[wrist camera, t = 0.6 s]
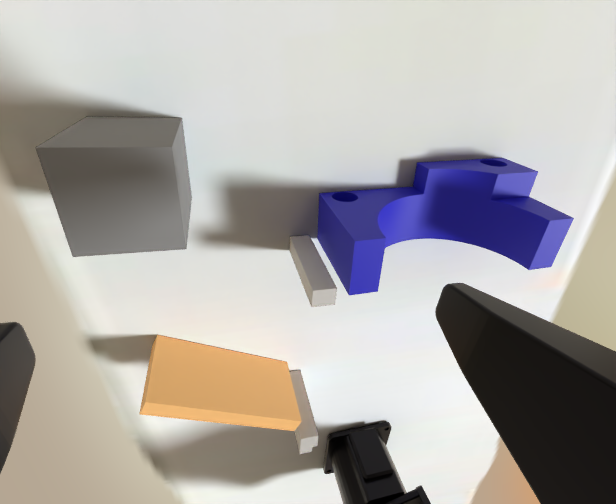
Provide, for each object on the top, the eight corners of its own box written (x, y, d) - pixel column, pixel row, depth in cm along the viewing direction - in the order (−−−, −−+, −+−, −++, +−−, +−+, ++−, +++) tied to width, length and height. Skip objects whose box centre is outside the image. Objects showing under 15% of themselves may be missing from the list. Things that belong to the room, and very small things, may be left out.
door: (287, 362, 26) (301, 421, 22) (275, 378, 27) (287, 439, 23) (157, 334, 22) (145, 402, 18) (147, 355, 23) (134, 424, 19)
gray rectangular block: (191, 197, 18) (186, 248, 14) (108, 200, 17) (73, 256, 13) (182, 117, 16) (171, 147, 12) (86, 116, 15) (35, 147, 11)
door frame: (298, 391, 29) (315, 458, 24) (284, 394, 28) (299, 461, 24) (309, 235, 21) (337, 288, 16) (290, 236, 21) (313, 290, 16)
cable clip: (500, 157, 22) (586, 190, 17) (480, 220, 24) (551, 266, 19) (319, 166, 19) (358, 209, 14) (316, 237, 22) (349, 295, 17)
